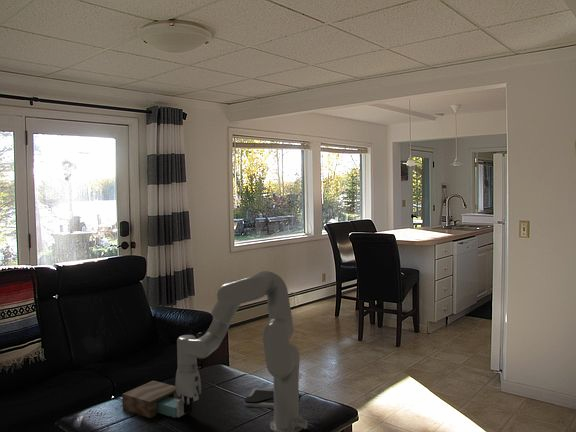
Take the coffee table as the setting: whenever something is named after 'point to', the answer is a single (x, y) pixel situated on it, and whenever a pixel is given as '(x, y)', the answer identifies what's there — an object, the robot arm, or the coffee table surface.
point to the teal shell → (170, 406)
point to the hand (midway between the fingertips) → (188, 412)
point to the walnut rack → (147, 398)
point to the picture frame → (260, 398)
